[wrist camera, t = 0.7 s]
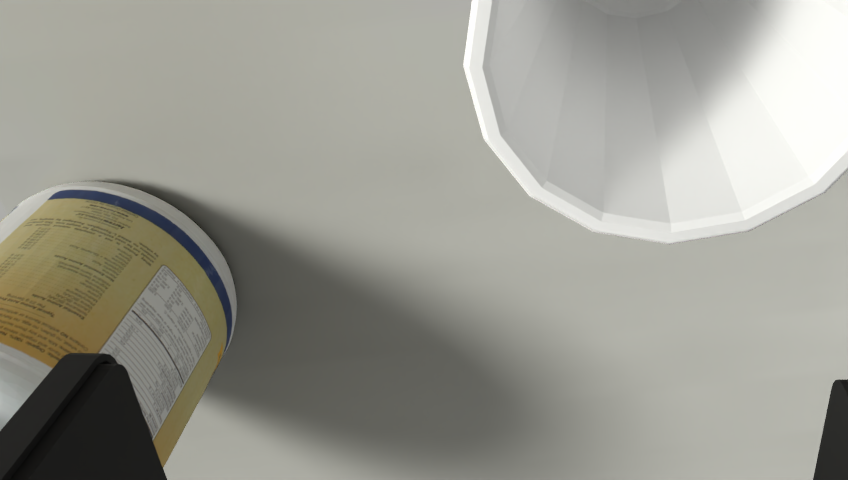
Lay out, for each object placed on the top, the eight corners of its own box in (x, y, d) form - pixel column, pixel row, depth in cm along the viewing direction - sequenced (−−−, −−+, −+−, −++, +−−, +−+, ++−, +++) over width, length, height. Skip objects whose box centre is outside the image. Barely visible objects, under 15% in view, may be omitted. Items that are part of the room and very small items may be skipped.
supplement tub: (107, 389, 46) (-100, 686, 31) (-35, 215, 40) (-360, 477, 26) (289, 335, 41) (146, 649, 27) (157, 134, 36) (-104, 392, 22)
